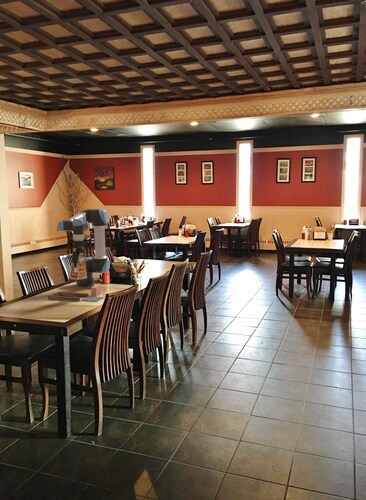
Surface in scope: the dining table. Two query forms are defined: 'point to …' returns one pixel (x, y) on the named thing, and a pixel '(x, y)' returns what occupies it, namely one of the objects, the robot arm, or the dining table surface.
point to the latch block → (96, 291)
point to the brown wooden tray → (57, 297)
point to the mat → (92, 299)
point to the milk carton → (79, 269)
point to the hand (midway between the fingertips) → (79, 271)
